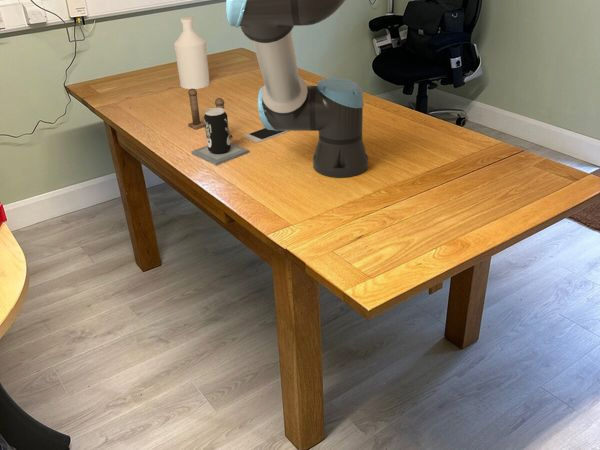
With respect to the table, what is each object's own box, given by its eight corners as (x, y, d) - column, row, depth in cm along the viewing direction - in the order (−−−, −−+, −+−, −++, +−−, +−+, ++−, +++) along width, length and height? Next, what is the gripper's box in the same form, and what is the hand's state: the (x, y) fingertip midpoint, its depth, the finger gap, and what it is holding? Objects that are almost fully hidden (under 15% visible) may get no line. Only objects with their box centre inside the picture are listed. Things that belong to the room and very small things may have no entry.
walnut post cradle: (232, 137, 182) (228, 97, 175) (222, 141, 179) (217, 101, 173) (198, 123, 193) (193, 85, 187) (188, 126, 191) (183, 88, 184)
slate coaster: (249, 152, 171) (249, 149, 171) (216, 165, 164) (216, 162, 164) (224, 141, 179) (223, 139, 178) (191, 153, 172) (191, 151, 171)
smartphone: (243, 138, 182) (242, 135, 181) (280, 124, 191) (280, 122, 190) (257, 144, 177) (257, 141, 177) (295, 130, 186) (295, 127, 185)
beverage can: (226, 155, 167) (222, 115, 161) (205, 154, 169) (199, 114, 163) (234, 146, 173) (229, 107, 167) (213, 145, 174) (208, 106, 168)
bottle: (207, 88, 224) (200, 21, 212) (177, 89, 225) (167, 22, 212) (212, 79, 235) (205, 14, 222) (182, 80, 235) (173, 15, 222)
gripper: (316, -70, 159) (317, 11, 170) (245, -62, 145) (252, 27, 156) (336, -69, 155) (336, 14, 166) (265, -60, 140) (271, 31, 151)
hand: (295, 21), depth 161 cm, fingers open, 13 cm apart
